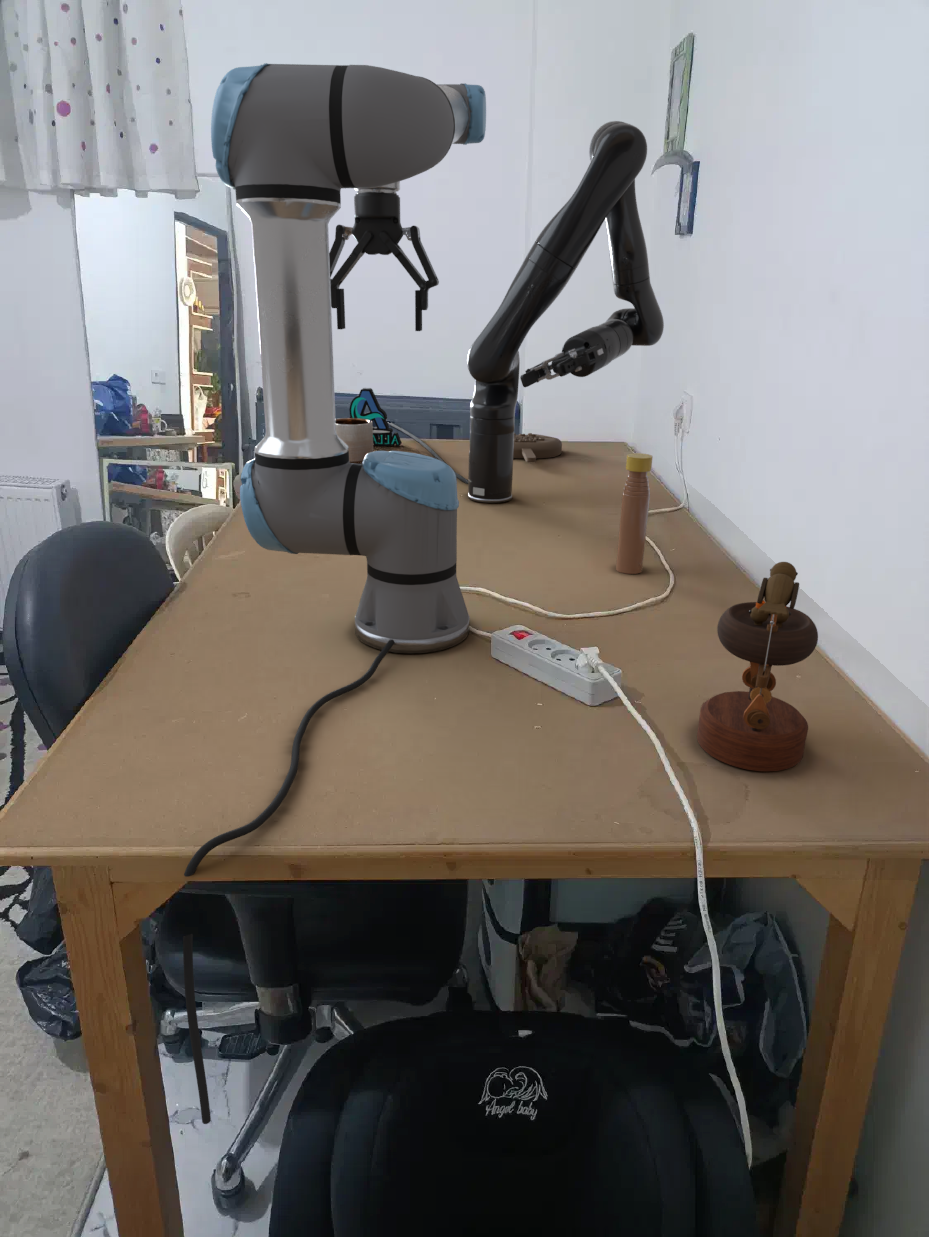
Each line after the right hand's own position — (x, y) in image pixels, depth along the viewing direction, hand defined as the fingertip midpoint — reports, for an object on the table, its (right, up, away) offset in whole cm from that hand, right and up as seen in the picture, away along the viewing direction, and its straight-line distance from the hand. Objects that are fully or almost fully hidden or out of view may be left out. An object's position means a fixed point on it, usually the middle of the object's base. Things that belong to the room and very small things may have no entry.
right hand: (541, 376), depth 148 cm
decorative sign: (-40, +5, +85) cm, 94 cm away
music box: (+16, -55, -60) cm, 83 cm away
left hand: (-28, +8, -2) cm, 29 cm away
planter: (-42, -2, +66) cm, 78 cm away
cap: (+14, -17, -17) cm, 28 cm away
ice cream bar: (+3, 0, +73) cm, 73 cm away
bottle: (+14, -34, -10) cm, 38 cm away
